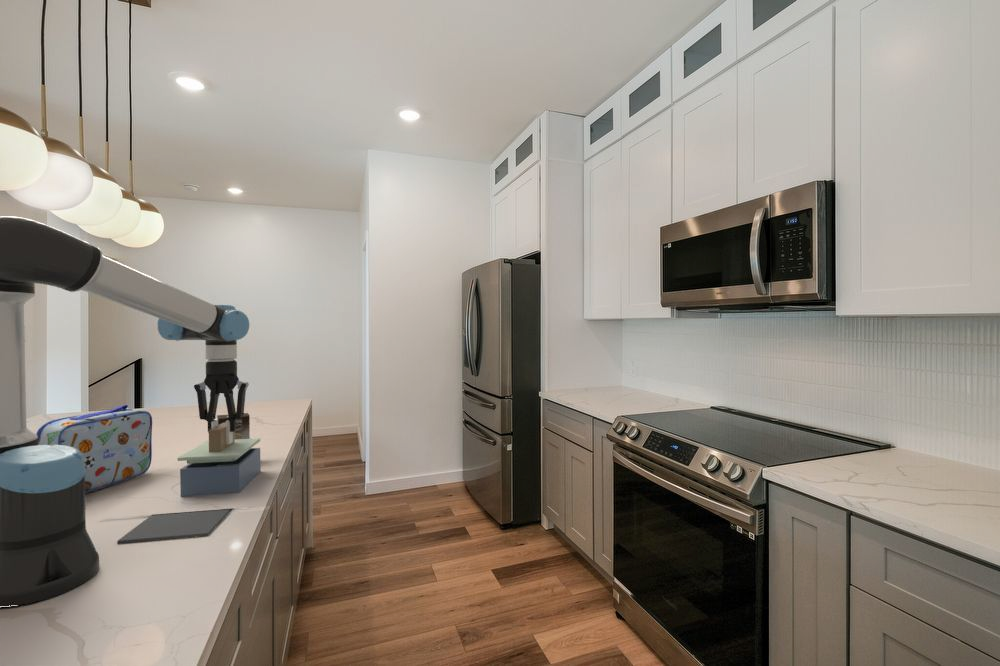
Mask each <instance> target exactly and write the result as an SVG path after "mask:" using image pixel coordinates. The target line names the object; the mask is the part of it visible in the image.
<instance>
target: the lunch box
mask: <svg viewBox="0 0 1000 666" xmlns="http://www.w3.org/2000/svg"><path fill="white" fill-rule="evenodd" d="M128 407H129V406H128V404H125V405H120V406H117V407H116V408H112V409H107V410H103V411H98V412H93V413H86V414H80V415H73V416H67V417H62V418H57V419H53V420H50V421H48V422H46V423H44V424H43V425H41V426H40V427H39V428H38V429H37V431H36V433H35V434H36V435H38V445H50V446H52V445H66V446H70V447H74V448H76V449H78V450H79V451H80V452H81V453H82V454H83V458H84V464H85V468H86V473H85V494H88V493H90V492H94V491H98V490H101V489H104V488H108V487H110V486H111V487H112V486H114V485H116V484H119V483H122V482H125V481H127V480H130V479H132V478H136V477H138V476H141V475H144V474H146V472H148V470H149V468H150V467H151V464H152V458H153V456H152V455H153V451H152V450H153V449H152V448H153V447H152V446H153V445H152V444H153V443H152V436H153V434H152V433H153V416H152V414H151V413H150V412H149V411H147V410H141V409H133V408H128Z"/></svg>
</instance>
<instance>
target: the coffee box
mask: <svg viewBox="0 0 1000 666" xmlns="http://www.w3.org/2000/svg"><path fill="white" fill-rule="evenodd" d="M216 418H217V420H218V425H220V424H222V423H226V421H228V419H229V416H228V414H219V415H217V414H216ZM250 419H251V417H250V414H249V413H248V412H246V413H245V412H244V415H243V416H242V417H240V418H238V419H236V431H235V439H251V438H250V437H251V436H250Z"/></svg>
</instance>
